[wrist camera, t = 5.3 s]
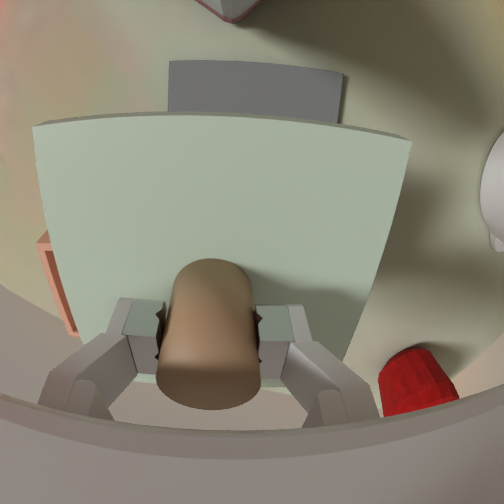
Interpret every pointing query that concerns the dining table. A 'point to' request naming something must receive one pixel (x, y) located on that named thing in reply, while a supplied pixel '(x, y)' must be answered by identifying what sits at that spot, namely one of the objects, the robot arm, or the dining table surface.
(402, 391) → the apple
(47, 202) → the lid
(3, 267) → the dining table surface
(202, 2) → the bottle
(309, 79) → the mat
